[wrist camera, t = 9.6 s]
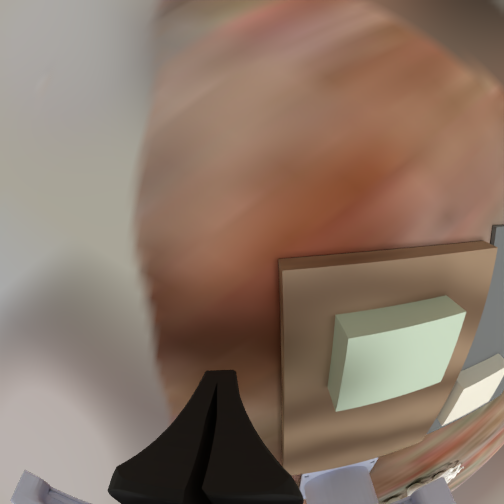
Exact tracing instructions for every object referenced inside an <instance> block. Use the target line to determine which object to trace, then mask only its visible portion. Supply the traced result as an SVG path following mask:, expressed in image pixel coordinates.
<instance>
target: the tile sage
mask: <svg viewBox="0 0 504 504" xmlns="http://www.w3.org/2000/svg"><path fill="white" fill-rule="evenodd" d="M465 315H466V311H465V310H464V309H463V308H462V307H460V306H459V305H458V304H457V303H455V302H454V301H453V300H452V299H450V298H449V297H448V296H447V295H445V296H441V297H436V298H431V299H427V300H422V301H417V302H412V303H406V304H401V305H395V306H390V307H384V308H378V309H372V310H365V311H359V312H352V313H345V314H338V315H335V326H334V337H333V347H332V356H331V364H330V372H329V379H328V386H327V387H328V390H329V393H330V396H331V399H332V402H333V405H334V408H335V411H336V412H337V411H342V410H347V409H352V408H356V407H361V406H365V405H369V404H373V403H377V402H381V401H384V400H388V399H391V398H395V397H398V396H401V395H405V394H408V393H411V392H414V391H417V390H420V389H423V388H425V387H428V386H431V385H434V384H436V383H439V382H441V380H442V378H443V376H444V373H445V371H446V369H447V366H448V364H449V361H450V359H451V356H452V353H453V351H454V348H455V345H456V343H457V340H458V337H459V334H460V331H461V328H462V325H463V321H464V318H465Z"/></svg>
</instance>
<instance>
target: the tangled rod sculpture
mask: <svg viewBox="0 0 504 504" xmlns="http://www.w3.org/2000/svg"><path fill="white" fill-rule="evenodd" d="M460 465H461V464H460V463H459V464H458V465H456V466H455V467H453V468H452V467H451V468H449V469H447V470H446V471H445V472H444V473H443V472H441V473H438V474H436V475H435V476H434V478H433V480H431V481H429V482H426V483H425V484H421V483H415V484H413V485H411V486H410V487H409V488H408V490H407V495H408V496H410V495H411V494H412V493H413V492H414V491H415V490H417V489H418V488H420V487H422V486H424V485H426V484H428V483H430V482H432V481H434V480H436V479H438V478H440V477H444V478H445V481H446V483H448V482H449V481H450V480H451V479H452V478H454V477H455V476H456V474H457V473H458V472H460V470H461V469H462V468H464V466H463V467H460ZM400 499H401V498H397V497H396V498H392V499H390V500H389V501H388V502H387V503H386V504H390V503H392V502H395V501H398V500H400Z"/></svg>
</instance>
